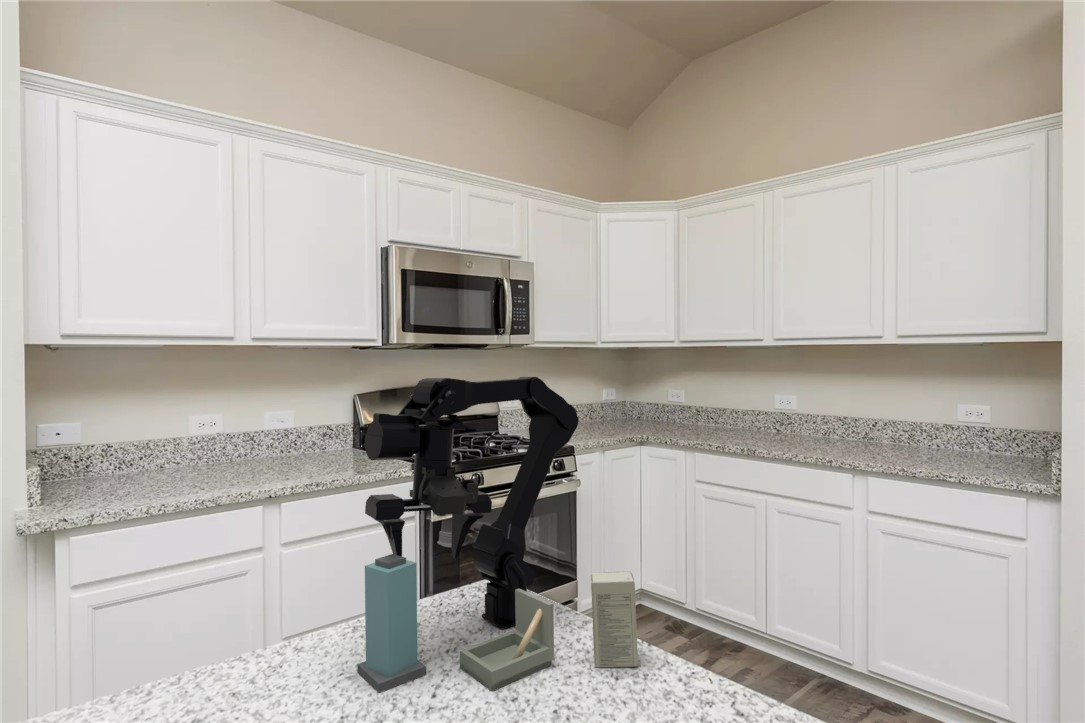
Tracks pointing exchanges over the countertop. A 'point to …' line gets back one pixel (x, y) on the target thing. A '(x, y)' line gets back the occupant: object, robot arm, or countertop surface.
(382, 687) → the foam pad
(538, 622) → the case
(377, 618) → the module
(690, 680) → the countertop surface
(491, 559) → the robot arm
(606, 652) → the skincare box
